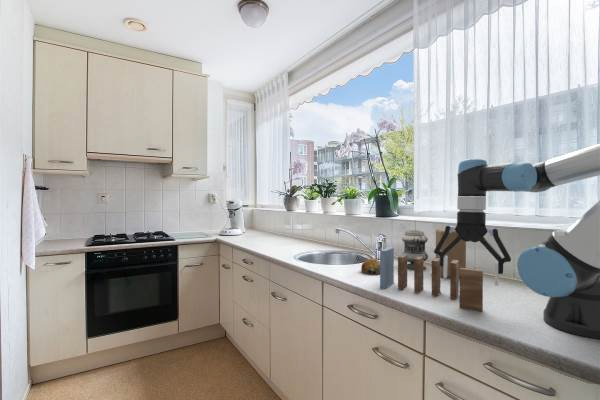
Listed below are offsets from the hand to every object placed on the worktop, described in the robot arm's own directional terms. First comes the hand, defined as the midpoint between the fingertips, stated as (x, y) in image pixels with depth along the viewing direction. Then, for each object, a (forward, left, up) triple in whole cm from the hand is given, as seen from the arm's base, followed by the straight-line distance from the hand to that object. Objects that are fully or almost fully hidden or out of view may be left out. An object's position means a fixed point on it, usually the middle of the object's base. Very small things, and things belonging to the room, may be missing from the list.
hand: (469, 280), depth 92 cm
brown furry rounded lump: (+44, +22, -9) cm, 50 cm away
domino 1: (+20, +15, -9) cm, 26 cm away
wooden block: (+41, -11, -9) cm, 43 cm away
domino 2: (+17, +10, -9) cm, 22 cm away
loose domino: (0, 0, -9) cm, 9 cm away
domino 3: (+14, +5, -9) cm, 17 cm away
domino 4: (+11, 0, -9) cm, 14 cm away
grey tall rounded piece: (+55, 0, -9) cm, 56 cm away
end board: (+23, +20, -9) cm, 32 cm away
